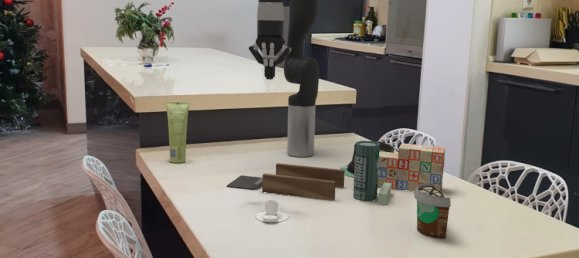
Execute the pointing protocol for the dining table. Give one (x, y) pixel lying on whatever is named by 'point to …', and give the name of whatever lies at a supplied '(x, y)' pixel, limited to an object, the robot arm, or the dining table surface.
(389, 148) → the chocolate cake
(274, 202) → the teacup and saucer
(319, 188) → the lane
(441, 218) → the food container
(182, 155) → the tube
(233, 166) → the dining table surface
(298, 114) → the robot arm
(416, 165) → the stack of blocks
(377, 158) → the can
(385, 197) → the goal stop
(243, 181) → the mat
